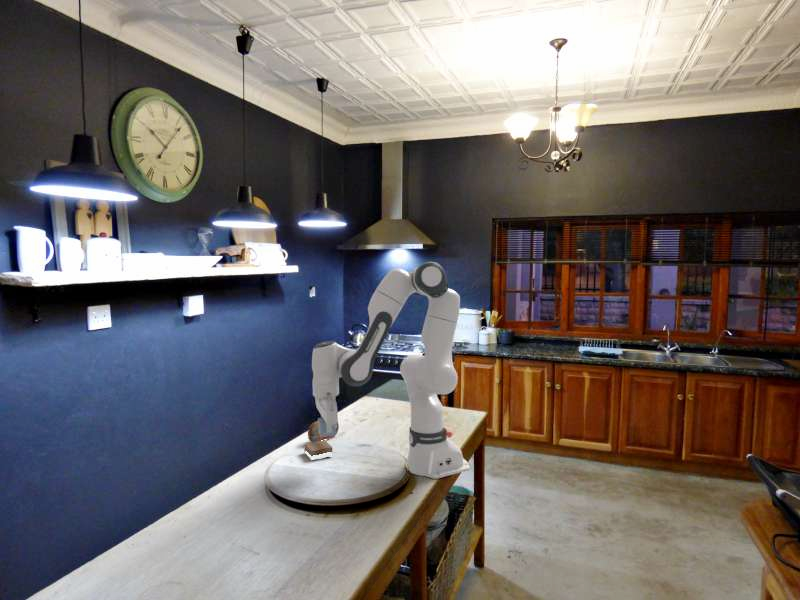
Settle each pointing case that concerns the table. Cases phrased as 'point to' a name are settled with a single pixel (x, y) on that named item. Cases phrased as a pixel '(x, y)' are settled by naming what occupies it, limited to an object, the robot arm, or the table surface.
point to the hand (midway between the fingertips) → (326, 429)
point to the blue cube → (322, 428)
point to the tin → (314, 434)
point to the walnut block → (318, 447)
